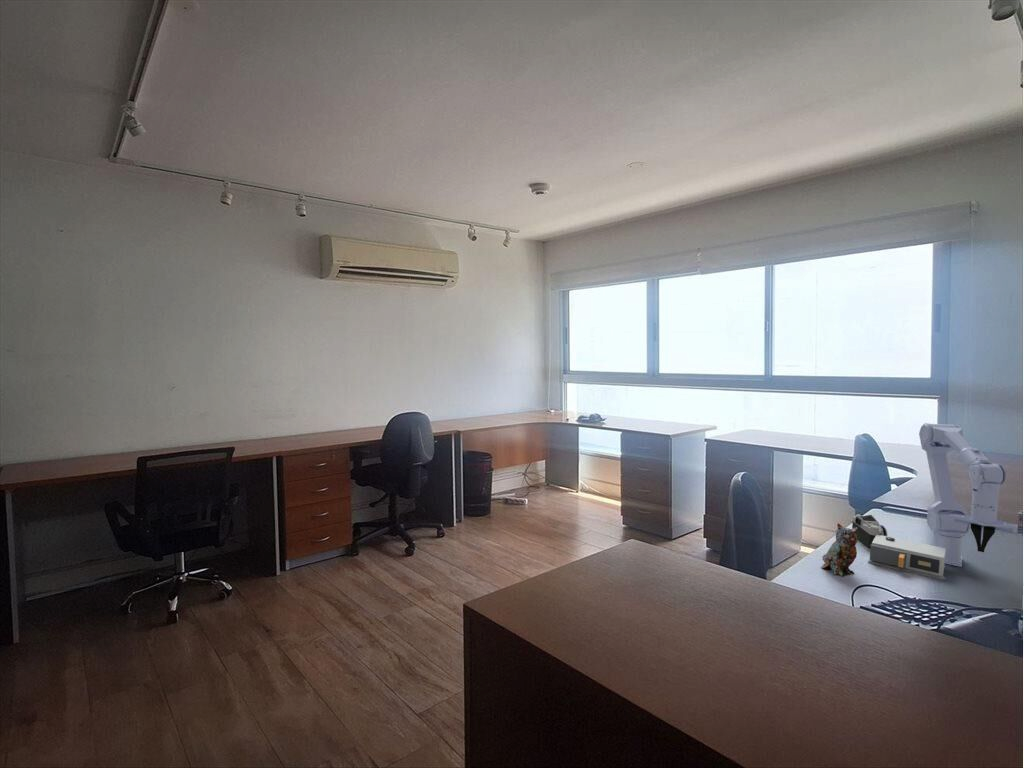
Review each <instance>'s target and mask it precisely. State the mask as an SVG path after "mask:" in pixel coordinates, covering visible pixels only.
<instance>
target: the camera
mask: <svg viewBox="0 0 1024 768" xmlns="http://www.w3.org/2000/svg"><path fill="white" fill-rule="evenodd" d="M851 526H852V528H851V529H853V528H856V527H857V528H858V529H857V531H856V533H857V536H858V539H857V540H858V541H857V543H859V544H860V543H861V544H860V545H862V546H863V547H864V548H865V547H866V548H867V549H866V548H865V549H866V550H868V551H869V550H870V547H871V545H872V542H873V540H874V538H875V536H876V535H882V536H887V537H889V535H888V530H887V528H886V527H885V526H884V525H882V524H880V522H879V521H878V520H877V519H876V518H875V517H874V516H873V515H872V514H868V515H861V514H859V513H858V514H855V515H854V516H852V525H851Z"/></svg>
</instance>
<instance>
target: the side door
mask: <svg viewBox="0 0 1024 768" xmlns="http://www.w3.org/2000/svg"><path fill="white" fill-rule="evenodd" d="M906 556H907V552H904V551H899V550H895V549H890V548H885V547H881V546H876V545H871V547H870V551H869V560H873V561H877V562H882V563H886V564H890V565H895V566H898V567H901V568H906Z"/></svg>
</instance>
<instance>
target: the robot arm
mask: <svg viewBox="0 0 1024 768" xmlns="http://www.w3.org/2000/svg"><path fill="white" fill-rule="evenodd" d="M918 434H919V435H918V436H919V441H920V445H921V449H922V450H923V451H925V453H926V457H927V463H928V464H927V465H928V469H929V474H930V480H931V485H932V489H933V490H932V491H933V495H934V501H935V502H934V503H933V504H931V505H930V506H929V507H928V508H927V509H926V511H927V512H926V513H927V516H926V523H927V526H928V528H929V529H930V531H932V532H933V535H932V546H937V547H942V548H946V555H945V564H946V565H951V566H955V567H962V566H963V556H962V546H963V537H966V534H968V533H970V531H971V532H972V534H973V536H974V539H975V542H976V547H977V552H981V553H985V549H986V546H988V545H987V544H988V543H989V541H990V539H991V538H992V537H993V536H994V534H995V533H996V530H1001V531H1005V532H1006V531H1007V532H1011V533H1014V534H1018V528H1019V526H1018V524H1013V523H1009V522H1006V521H1005V522H1004V521H1001V520H998V519H997V518H998V507H999V498H1000V497H999V496H1000V485H1003V484H1004V483H1005V482H1006V480H1007V472H1006V470H1005V468H1004V467H1003V465H1002V464H1000V463H995V462H991V460H990V459H988V458H987V457H986V455H985V454H984V453H983V452H982V451H981V450H980V449H979V448H977V447H971V446H970V444H968V442H967V440H966V439H965V438H964V437H963V436H964V434H963V429H962V428H961V426H960V425H959V424H956V423H953V424H948V423H947V424H946V423H945V424H944V423H943V424H942V423H927V422H924V423H923V424H922V425H921V427H920V429H919V433H918ZM952 451H955V452H956V453H957V455H958V456H957V457H958V461H959V462H960V463H961V464H962V465H963V466H964V467H965V468H966V469H967V470H968V477H969V479H970V487H971V489H972V494H971V497H972V498H971V503H970V504H971V507H970V515H968V513H967V509H966V508H964V506H962V505H960V504H959V503H957V502H956V501H957V500H956V497H955V492H954V487H953V482H952V478H951V472H950V469H949V468H950V467H949V463H948V458H947V454H948V453H950V452H952Z"/></svg>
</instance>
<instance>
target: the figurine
mask: <svg viewBox="0 0 1024 768" xmlns="http://www.w3.org/2000/svg"><path fill="white" fill-rule="evenodd" d="M857 529H858V528H857V527H856V528H853V529H852V528H848V527H844V526H843V525H842V524H840V523H839V522H838V523H837V528H836V530H835V541H834V542H832V544H831V545H830V547H829V548H828V550H827V552H826V553H825V554H824V555H822V557H821V558H822V561H823V562H824V564H822V565H821V566H820V569H822V570H826V571H829V572H830V571H831V572H833V575H834V576H839V577H841V578H842V577H845V576H846V577H847V576H850V575H854V574H855V571H853V570H851V569H850V566H851V565H853V563H854V562H855V559H856V558H857V554H858V551H857V547H856V545H857V543H858V540H857V539H858V536H857V533H856V531H857Z"/></svg>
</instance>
